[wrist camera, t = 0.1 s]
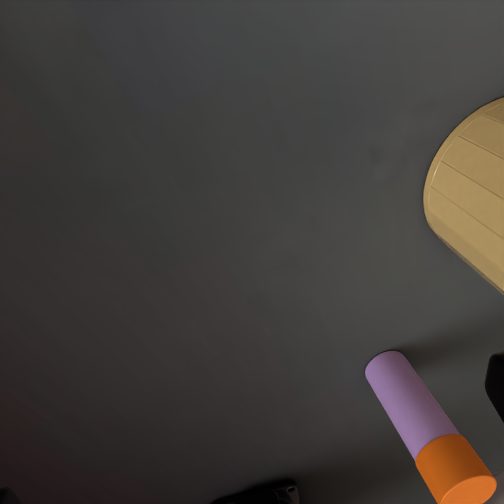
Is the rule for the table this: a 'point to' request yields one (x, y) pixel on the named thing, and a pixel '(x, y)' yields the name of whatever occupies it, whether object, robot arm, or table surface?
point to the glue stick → (429, 433)
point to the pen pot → (471, 192)
